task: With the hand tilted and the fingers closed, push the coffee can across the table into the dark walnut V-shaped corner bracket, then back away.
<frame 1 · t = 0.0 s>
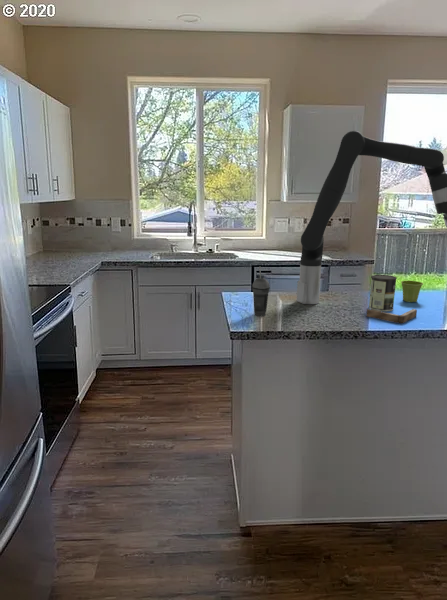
coffee can: (380, 308, 198), on the countertop
beverage cup: (260, 315, 186), on the countertop
plant pot: (409, 301, 211), on the countertop
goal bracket: (392, 316, 185), on the countertop
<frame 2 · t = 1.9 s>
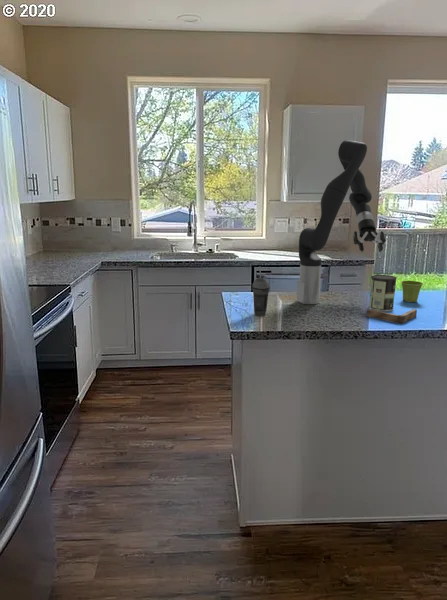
hand: (371, 250, 209), 23 cm above the countertop, tool tilted 45°, fingers open, 8 cm apart
nothing on the countertop moved.
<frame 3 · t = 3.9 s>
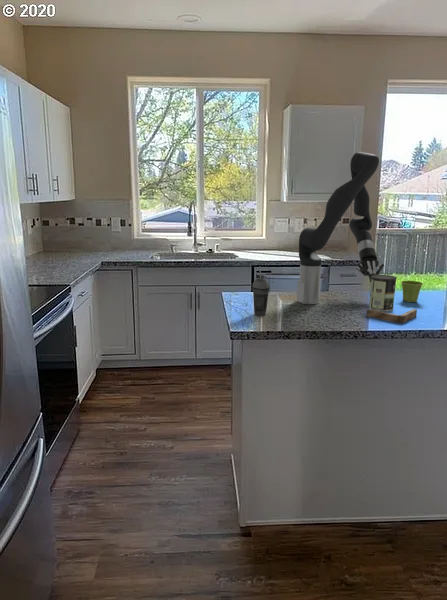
hand: (373, 282, 206), 9 cm above the countertop, tool tilted 45°, fingers closed
nothing on the countertop moved.
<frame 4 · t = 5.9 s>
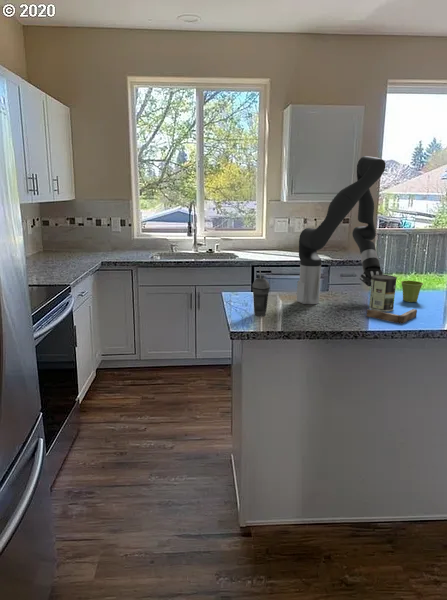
hand: (377, 293, 201), 5 cm above the countertop, tool tilted 45°, fingers closed
coffee can: (380, 308, 197), on the countertop, touching gripper
everything else where it was.
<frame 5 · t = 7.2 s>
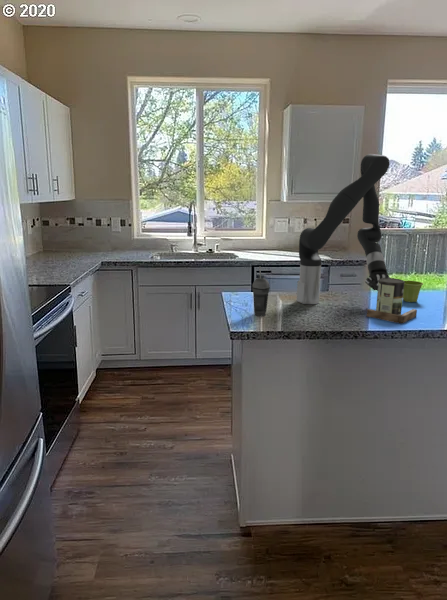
hand: (383, 297, 194), 5 cm above the countertop, tool tilted 45°, fingers closed
coffee can: (388, 313, 190), on the countertop, touching gripper
everything else where it was.
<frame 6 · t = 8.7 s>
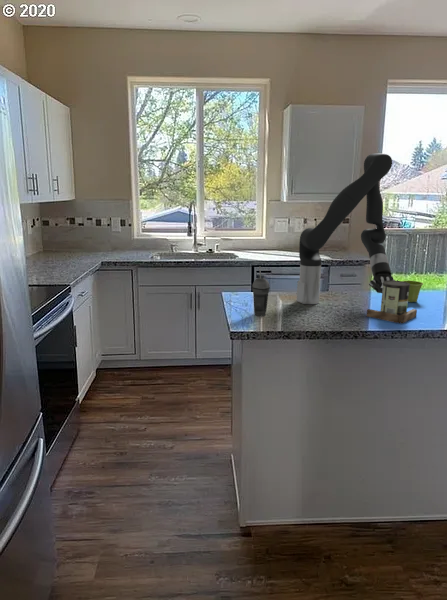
hand: (388, 300, 190), 5 cm above the countertop, tool tilted 45°, fingers closed
coffee can: (392, 317, 186), on the countertop, touching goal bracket, gripper
everything else where it was.
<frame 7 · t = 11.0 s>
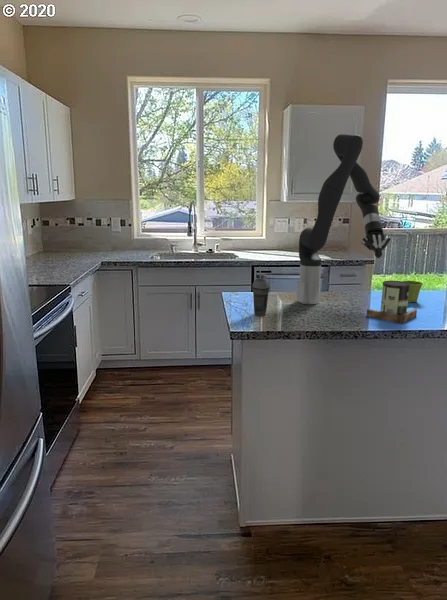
hand: (379, 256, 198), 22 cm above the countertop, tool tilted 45°, fingers closed
coffee can: (392, 317, 186), on the countertop
everything else where it was.
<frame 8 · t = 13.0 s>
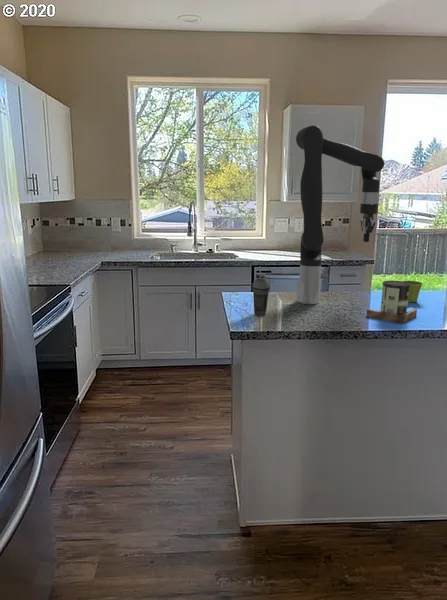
hand: (365, 241, 206), 27 cm above the countertop, tool pointing down, fingers closed
nothing on the countertop moved.
at the end: coffee can 0.7 cm from the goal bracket (horizontally); coffee can tilted 0°; coffee can moved 12.4 cm from its start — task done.
